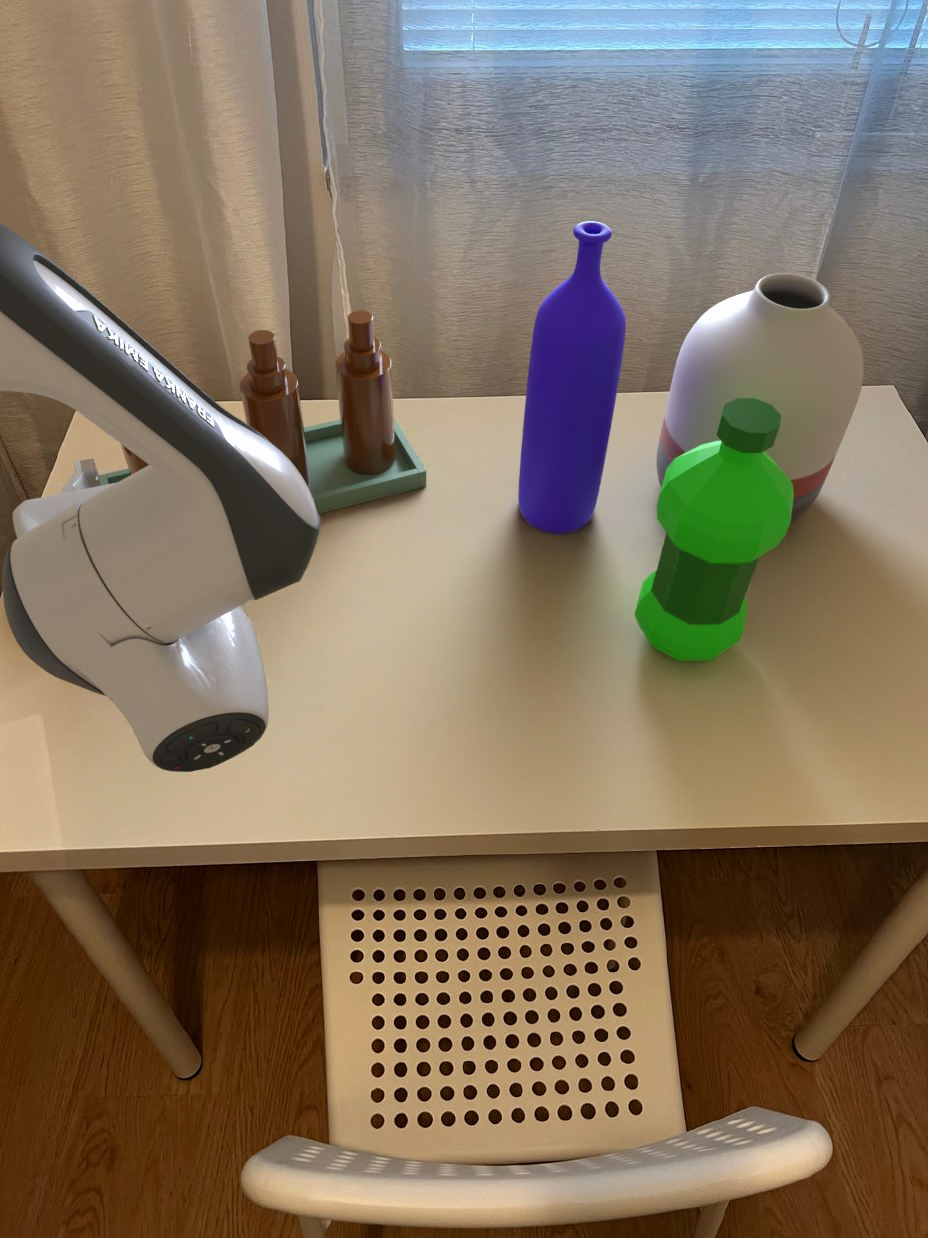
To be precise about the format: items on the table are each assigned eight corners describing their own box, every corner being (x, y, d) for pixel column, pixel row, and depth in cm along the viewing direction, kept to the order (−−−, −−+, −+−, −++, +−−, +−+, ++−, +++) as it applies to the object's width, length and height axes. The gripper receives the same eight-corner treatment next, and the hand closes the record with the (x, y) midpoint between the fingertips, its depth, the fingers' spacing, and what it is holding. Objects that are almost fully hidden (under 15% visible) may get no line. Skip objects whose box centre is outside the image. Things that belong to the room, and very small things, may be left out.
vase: (763, 435, 106) (829, 234, 88) (841, 536, 96) (934, 330, 78) (624, 459, 103) (664, 254, 85) (689, 566, 92) (750, 358, 75)
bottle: (598, 537, 95) (650, 256, 72) (516, 535, 95) (543, 253, 72) (592, 483, 100) (639, 206, 78) (515, 481, 100) (538, 202, 78)
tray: (122, 565, 91) (116, 549, 89) (103, 490, 98) (97, 475, 96) (426, 486, 99) (426, 470, 98) (389, 423, 106) (388, 407, 105)
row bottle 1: (265, 502, 96) (239, 359, 83) (251, 469, 99) (224, 327, 87) (316, 489, 98) (299, 346, 85) (301, 457, 101) (282, 315, 88)
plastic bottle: (703, 586, 91) (774, 363, 72) (759, 668, 84) (853, 446, 65) (608, 609, 88) (656, 385, 70) (658, 695, 82) (725, 474, 63)
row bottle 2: (353, 480, 99) (341, 337, 86) (337, 449, 102) (323, 307, 89) (402, 467, 100) (397, 326, 87) (385, 437, 104) (378, 296, 91)
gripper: (311, 508, 67) (269, 398, 76) (9, 573, 62) (1, 447, 71) (318, 569, 72) (278, 459, 81) (39, 634, 67) (27, 510, 76)
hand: (146, 454), depth 76 cm, fingers open, 8 cm apart
